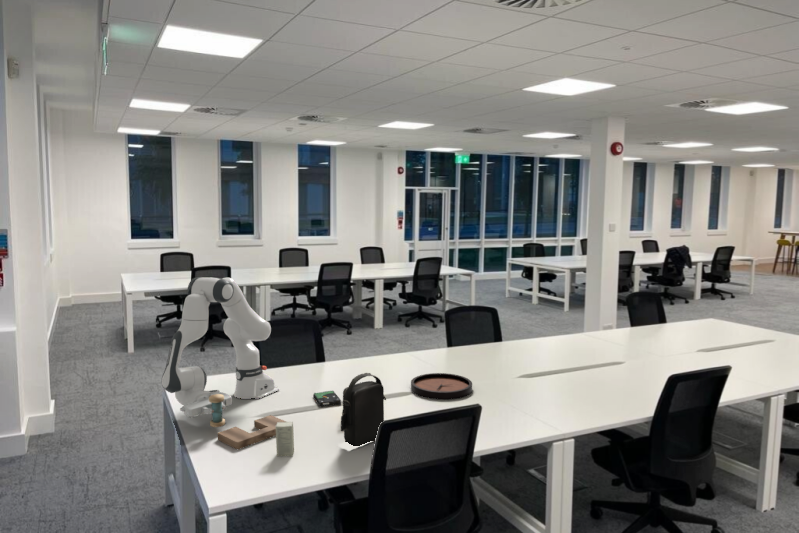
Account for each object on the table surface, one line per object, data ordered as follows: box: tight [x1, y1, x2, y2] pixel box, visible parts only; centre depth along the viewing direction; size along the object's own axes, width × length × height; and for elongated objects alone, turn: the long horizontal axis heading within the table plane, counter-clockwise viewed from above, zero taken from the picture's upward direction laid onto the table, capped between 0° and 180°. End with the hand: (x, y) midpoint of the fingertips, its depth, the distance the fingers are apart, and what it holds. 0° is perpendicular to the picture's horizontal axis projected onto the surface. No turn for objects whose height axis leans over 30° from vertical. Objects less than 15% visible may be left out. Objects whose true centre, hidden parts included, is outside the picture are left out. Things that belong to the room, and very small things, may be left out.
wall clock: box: [410, 372, 473, 401], centre depth 301 cm, size 31×4×31 cm
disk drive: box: [312, 390, 342, 408], centre depth 284 cm, size 10×3×15 cm
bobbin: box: [209, 394, 226, 428], centre depth 244 cm, size 6×6×12 cm
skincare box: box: [275, 421, 295, 457], centre depth 224 cm, size 6×4×12 cm
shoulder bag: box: [340, 372, 387, 446], centre depth 236 cm, size 23×9×28 cm, turn 134°
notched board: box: [217, 414, 287, 450], centre depth 242 cm, size 26×14×3 cm, turn 139°
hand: (218, 409), depth 244 cm, fingers closed on bobbin, 4 cm apart
